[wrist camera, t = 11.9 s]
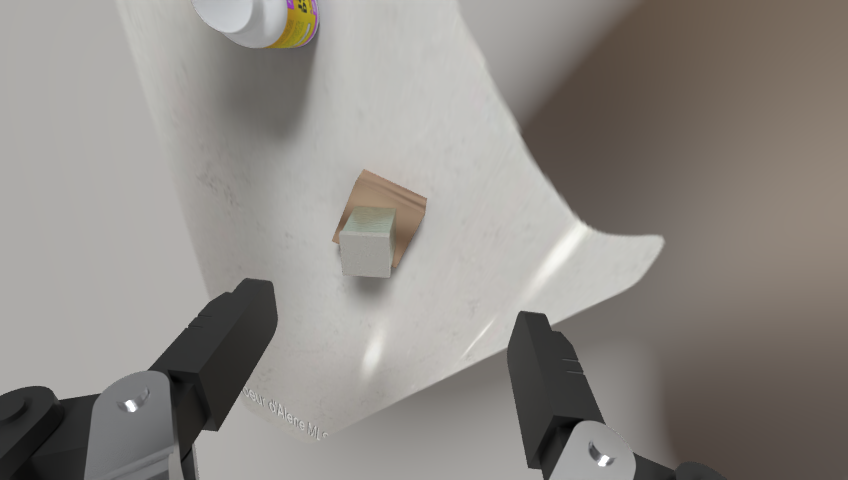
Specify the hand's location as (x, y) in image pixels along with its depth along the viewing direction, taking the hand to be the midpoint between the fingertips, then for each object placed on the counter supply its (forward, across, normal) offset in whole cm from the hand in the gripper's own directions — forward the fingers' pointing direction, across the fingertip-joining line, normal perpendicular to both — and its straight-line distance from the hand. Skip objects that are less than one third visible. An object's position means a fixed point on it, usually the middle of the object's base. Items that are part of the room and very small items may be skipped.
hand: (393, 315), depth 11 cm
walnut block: (+34, +5, +13) cm, 37 cm away
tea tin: (+29, +5, +13) cm, 32 cm away
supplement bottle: (+34, +16, -9) cm, 39 cm away
